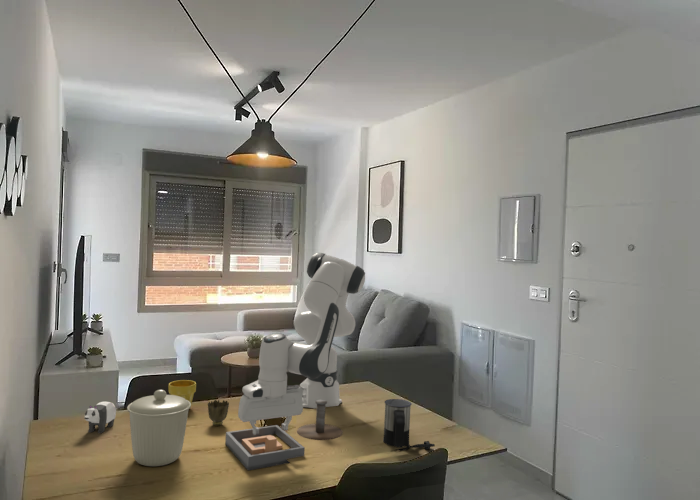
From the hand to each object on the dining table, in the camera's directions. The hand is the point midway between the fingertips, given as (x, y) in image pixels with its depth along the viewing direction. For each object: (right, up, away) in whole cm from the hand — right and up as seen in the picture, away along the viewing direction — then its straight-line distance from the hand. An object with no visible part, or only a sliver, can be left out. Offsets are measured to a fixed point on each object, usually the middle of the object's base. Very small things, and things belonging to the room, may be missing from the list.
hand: (270, 431), depth 168 cm
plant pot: (-41, -6, +44) cm, 61 cm away
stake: (+14, -9, +21) cm, 27 cm away
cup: (-23, -7, +28) cm, 37 cm away
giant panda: (-61, -5, +17) cm, 63 cm away
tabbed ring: (-3, -7, +5) cm, 9 cm away
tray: (-3, -8, +5) cm, 10 cm away
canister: (-33, -7, -5) cm, 34 cm away
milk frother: (+44, -10, +14) cm, 47 cm away
